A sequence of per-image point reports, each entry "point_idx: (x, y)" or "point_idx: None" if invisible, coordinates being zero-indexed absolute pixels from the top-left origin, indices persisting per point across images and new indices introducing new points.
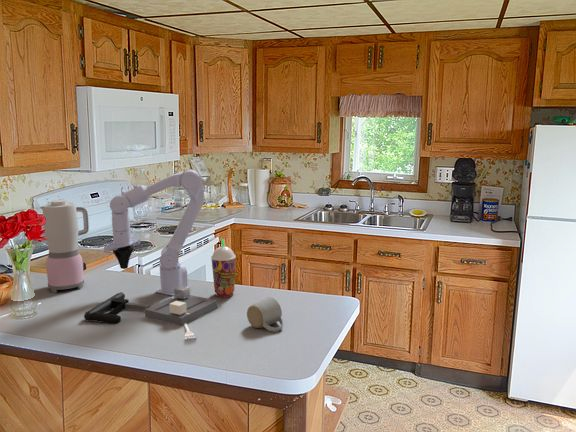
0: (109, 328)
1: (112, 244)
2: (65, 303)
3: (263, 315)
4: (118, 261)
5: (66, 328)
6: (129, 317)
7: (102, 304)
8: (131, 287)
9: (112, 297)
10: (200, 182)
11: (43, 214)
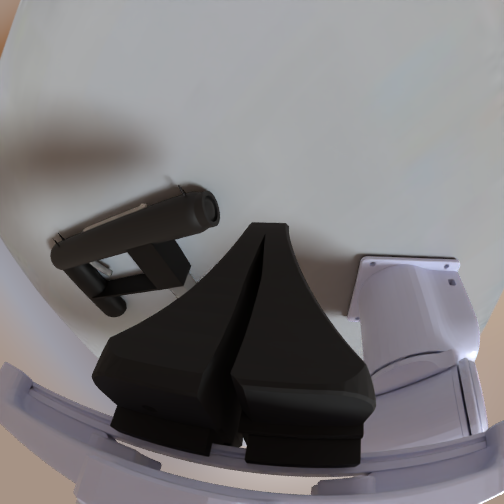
0: (96, 307)
1: (67, 457)
2: (55, 50)
3: None
4: (220, 261)
5: (29, 238)
6: (151, 310)
7: (94, 257)
8: (382, 104)
9: (141, 240)
10: None
11: None
